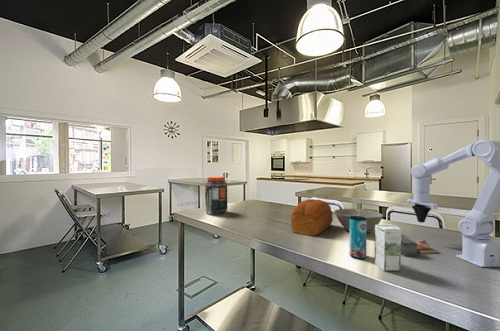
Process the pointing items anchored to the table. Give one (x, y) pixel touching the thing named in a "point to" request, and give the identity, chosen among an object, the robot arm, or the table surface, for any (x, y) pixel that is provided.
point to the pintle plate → (427, 251)
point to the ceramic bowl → (345, 214)
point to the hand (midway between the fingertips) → (421, 222)
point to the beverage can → (358, 237)
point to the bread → (311, 217)
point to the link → (422, 244)
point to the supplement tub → (216, 196)
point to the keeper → (408, 247)
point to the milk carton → (388, 247)
